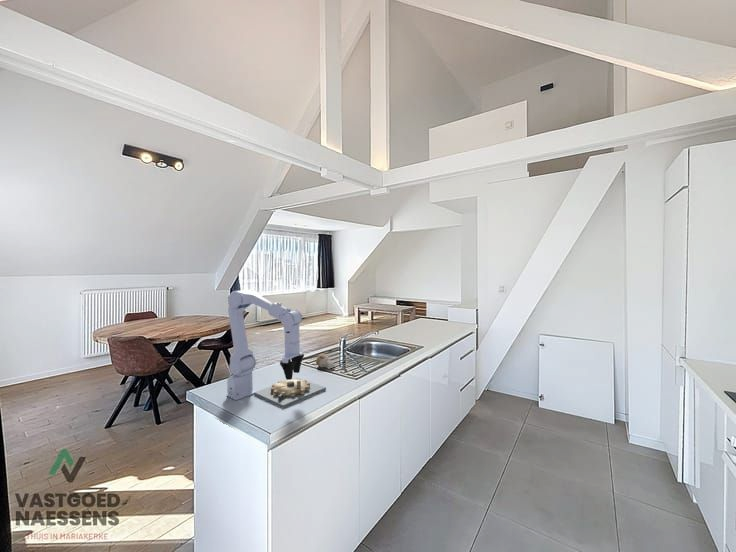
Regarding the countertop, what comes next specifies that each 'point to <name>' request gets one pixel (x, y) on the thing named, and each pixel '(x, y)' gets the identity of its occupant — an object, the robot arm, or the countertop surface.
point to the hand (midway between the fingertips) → (292, 375)
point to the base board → (288, 400)
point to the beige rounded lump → (324, 361)
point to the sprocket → (290, 387)
